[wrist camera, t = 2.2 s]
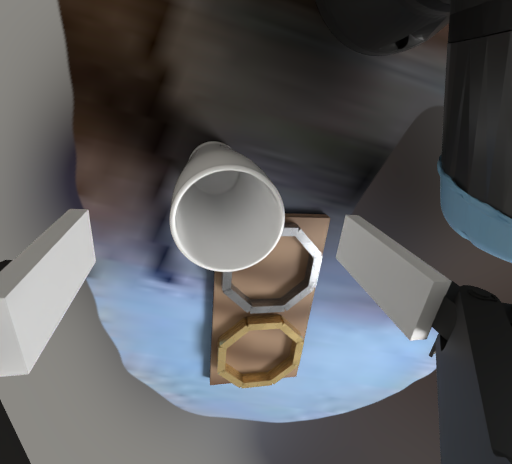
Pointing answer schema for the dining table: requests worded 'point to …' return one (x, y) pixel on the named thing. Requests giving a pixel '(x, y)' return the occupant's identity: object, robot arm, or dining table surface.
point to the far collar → (260, 377)
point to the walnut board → (264, 287)
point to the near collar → (289, 297)
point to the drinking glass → (225, 210)
